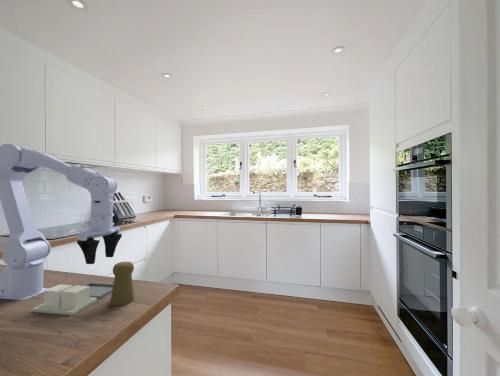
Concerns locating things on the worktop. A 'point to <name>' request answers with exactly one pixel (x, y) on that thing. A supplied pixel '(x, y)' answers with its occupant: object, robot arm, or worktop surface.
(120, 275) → the cork
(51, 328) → the worktop surface
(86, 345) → the worktop surface
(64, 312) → the tray
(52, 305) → the stone block
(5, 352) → the worktop surface
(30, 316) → the worktop surface
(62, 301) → the stone block
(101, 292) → the tray
